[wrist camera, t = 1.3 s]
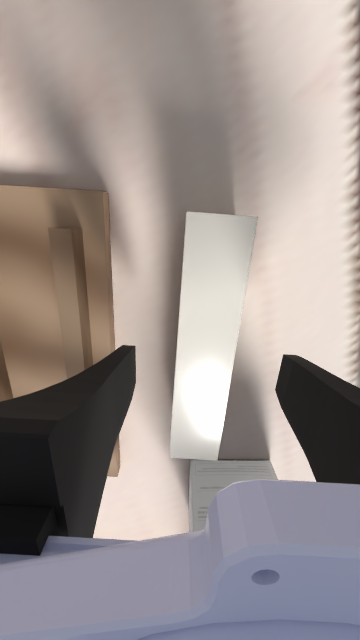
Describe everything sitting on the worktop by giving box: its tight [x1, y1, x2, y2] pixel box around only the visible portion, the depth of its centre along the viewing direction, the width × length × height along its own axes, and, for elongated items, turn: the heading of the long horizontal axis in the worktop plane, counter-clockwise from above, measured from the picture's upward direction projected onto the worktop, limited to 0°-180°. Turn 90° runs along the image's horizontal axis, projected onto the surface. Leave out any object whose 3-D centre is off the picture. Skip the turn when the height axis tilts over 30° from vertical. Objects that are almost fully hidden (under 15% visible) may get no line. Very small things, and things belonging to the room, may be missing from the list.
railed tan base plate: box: [0, 185, 120, 477], centre depth 17 cm, size 22×10×2 cm, turn 177°
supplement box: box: [189, 460, 278, 532], centre depth 17 cm, size 7×7×13 cm
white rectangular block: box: [169, 212, 258, 461], centre depth 15 cm, size 14×3×5 cm, turn 176°
